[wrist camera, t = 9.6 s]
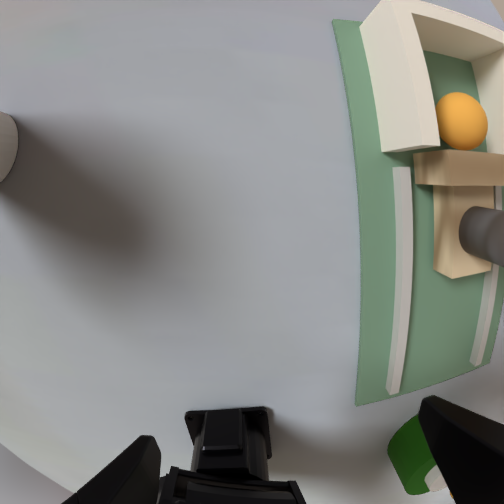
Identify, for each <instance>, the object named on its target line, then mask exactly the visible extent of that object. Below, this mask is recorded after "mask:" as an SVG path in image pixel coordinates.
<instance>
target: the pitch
mask: <svg viewBox="0 0 504 504" xmlns="http://www.w3.org/2000/svg"><path fill="white" fill-rule="evenodd" d="M332 25H333V29H334V33H335V38H336V42H337V47H338V52H339V57H340V62H341V67H342V73H343V78H344V84H345V90H346V96H347V102H348V109H349V116H350V123H351V131H352V139H353V148H354V157H355V167H356V178H357V191H358V205H359V223H360V250H361V314H360V341H359V358H358V372H357V385H356V395H355V405H356V406H361V405H365V404H369V403H373V402H377V401H381V400H385V399H389V398H392V397H396V396H399V395H403V394H406V393H410V392H413V391H416V390H419V389H422V388H425V387H428V386H431V385H434V384H437V383H440V382H443V381H446V380H448V379H451V378H454V377H456V376H459V375H462V374H464V373H467V372H469V371H472V370H474V369H477V368H479V367H481V366H484V365H486V364H488V363H489V362H490V358H491V354H492V351H493V347H494V343H495V339H496V334H497V330H498V325H499V320H500V315H501V310H502V304H503V298H504V267H501V266H499V265H496V264H494V263H491V270H490V271H486V272H482V273H477V274H473V275H468V276H463V277H459V278H454V279H451V278H449V277H447V276H445V275H443V274H441V273H439V272H437V271H435V270H434V269H433V259H434V198H433V185H428V184H415V172H414V160H413V154H415V153H422V152H431V151H439V150H458V149H455V148H453V147H451V146H449V145H448V144H447V143H445V142H444V141H443V140H442V138H441V137H440V136H439V131H438V124H437V117H436V111H435V107H436V105H437V103H438V101H439V100H440V99H441V98H442V97H443V96H445V95H447V94H449V93H453V92H461V93H465V94H467V95H470V96H471V97H473V98H474V99H475V100H477V101H478V102H479V103H480V105H481V106H482V108H483V109H484V111H485V113H486V116H487V120H488V131H487V135H486V137H485V139H484V141H483V142H482V143H481V144H480V145H479V146H478V147H476V148H474V149H472V150H463V151H475V152H486V153H496V154H504V31H501V30H499V29H497V28H495V27H493V26H491V25H488V24H486V23H484V22H481V21H479V20H476V19H474V18H471V17H469V16H466V15H463V14H461V13H458V12H455V11H452V10H449V9H446V8H443V7H440V6H437V5H434V4H430V3H427V2H423V1H420V0H381V1H380V2H379V4H378V5H377V6H376V7H375V8H374V10H373V11H372V12H371V13H370V14H369V16H368V17H367V18H366V19H365V21H364V22H359V21H349V20H338V19H333V21H332ZM493 191H494V209H497V210H502V211H504V186H493Z"/></svg>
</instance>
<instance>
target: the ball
mask: <svg viewBox="0 0 504 504" xmlns="http://www.w3.org/2000/svg"><path fill="white" fill-rule="evenodd" d="M435 111H436V117H437V124H438V131H439V136H440V137H441V138H442V140H443V141H444V142H445V143H447V144H448V145H449V146H451V147H453V148H455V149H458V150H472V149H474V148H476V147H478V146H479V145H480V144H481V143H482V142H483V141H484V139H485V137H486V135H487V131H488V120H487V116H486V113H485V111H484V109H483V108H482V106H481V105H480V103H479V102H478V101H477V100H475V99H474V98H473V97H471V96H470V95H467V94H465V93H461V92H453V93H449V94H447V95H445V96H443V97H442V98H441V99H440V100H439V101H438V103H437V105H436V107H435Z"/></svg>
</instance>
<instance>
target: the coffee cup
mask: <svg viewBox="0 0 504 504" xmlns="http://www.w3.org/2000/svg"><path fill="white" fill-rule="evenodd" d="M17 148H18V130H17V127H16V124H15V122H14V120H13V119H12V117H11V116H9V115H8V114H6V113H3V112H1V111H0V182H1V181H2V180H3V179H4V178H5V177H6V176H7V175H8V173H9V172H10V170H11V168H12V166H13V164H14V161H15V158H16V154H17Z"/></svg>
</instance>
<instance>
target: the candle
mask: <svg viewBox="0 0 504 504" xmlns="http://www.w3.org/2000/svg"><path fill="white" fill-rule="evenodd" d="M387 452H388V456H389V458H390V460H391V462H392V464H393V466H394V468H395V470H396V472H397V474H398V476H399V478H400V480H401V482H402V484H403V486H404V489H405V491H406V492H407V493H408V494H410V495H419V494H423V493H426V492H429V491H432V492H434V491H439V490H441V489H443V488H445V487H447V484H446V482H445V480H444V478H443V476H442V474H441V472H440V470H439V468H438V466H437V464H436V462H435V460H434V458H433V456H432V454H431V452H430V450H429V447H428V444H427V442H426V439H425V436H424V434H423V431H422V428H421V426H420V423H419V420H418V415H416V416H415V417H413V418H412V419H410V420H409V421H408V422H406V423H405V424H404V425H403V426H402V427H401V428H400V429H399V430H398V431H397V432H396V433H395V435H394V436H393V438H392V439H391V441H390V443H389V445H388V449H387ZM450 495H451V497H452V498H453V496H452V494H451V492H450Z"/></svg>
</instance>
